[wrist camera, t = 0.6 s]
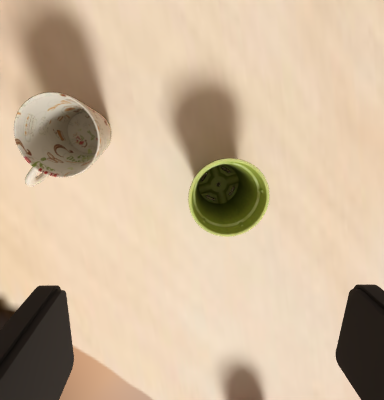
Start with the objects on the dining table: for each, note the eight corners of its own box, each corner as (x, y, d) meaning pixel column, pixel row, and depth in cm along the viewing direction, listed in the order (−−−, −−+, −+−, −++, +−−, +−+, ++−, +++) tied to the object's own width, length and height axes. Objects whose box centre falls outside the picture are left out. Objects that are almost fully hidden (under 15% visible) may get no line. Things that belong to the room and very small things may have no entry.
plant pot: (203, 139, 37) (210, 143, 29) (261, 167, 39) (284, 180, 30) (175, 198, 39) (174, 218, 31) (231, 222, 41) (245, 248, 32)
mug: (132, 130, 36) (116, 133, 27) (78, 197, 38) (45, 222, 29) (81, 86, 34) (44, 72, 25) (27, 159, 37) (-26, 171, 27)
